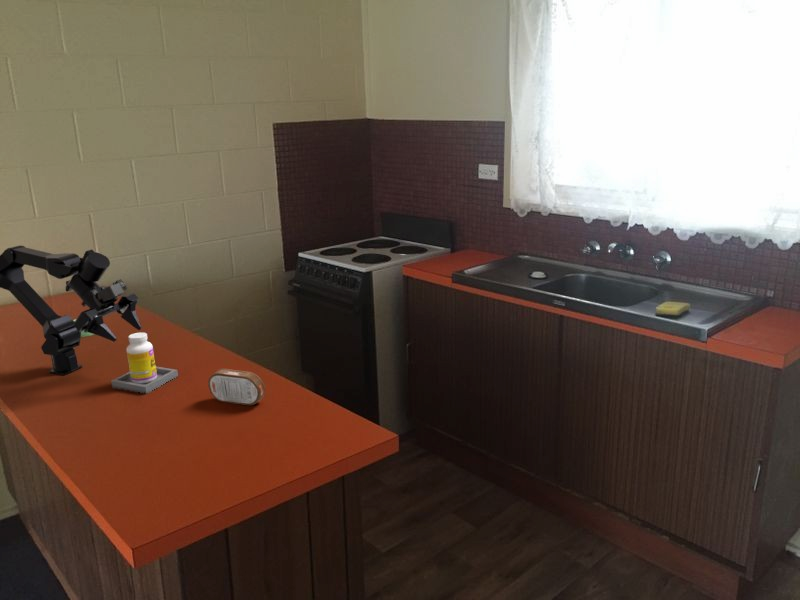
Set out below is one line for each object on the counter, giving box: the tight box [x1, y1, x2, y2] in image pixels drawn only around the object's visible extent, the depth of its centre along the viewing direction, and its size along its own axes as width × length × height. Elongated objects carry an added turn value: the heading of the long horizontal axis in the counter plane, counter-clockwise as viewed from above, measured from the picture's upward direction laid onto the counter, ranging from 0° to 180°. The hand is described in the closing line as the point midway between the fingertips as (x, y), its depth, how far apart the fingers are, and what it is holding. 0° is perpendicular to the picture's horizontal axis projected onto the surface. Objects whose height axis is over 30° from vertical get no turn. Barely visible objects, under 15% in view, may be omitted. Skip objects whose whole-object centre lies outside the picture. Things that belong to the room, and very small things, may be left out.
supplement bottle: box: [126, 332, 157, 384], centre depth 183 cm, size 7×7×13 cm
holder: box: [110, 366, 179, 395], centre depth 184 cm, size 12×12×2 cm
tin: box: [207, 368, 266, 406], centre depth 169 cm, size 15×3×8 cm, turn 71°
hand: (128, 334), depth 182 cm, fingers open, 9 cm apart
